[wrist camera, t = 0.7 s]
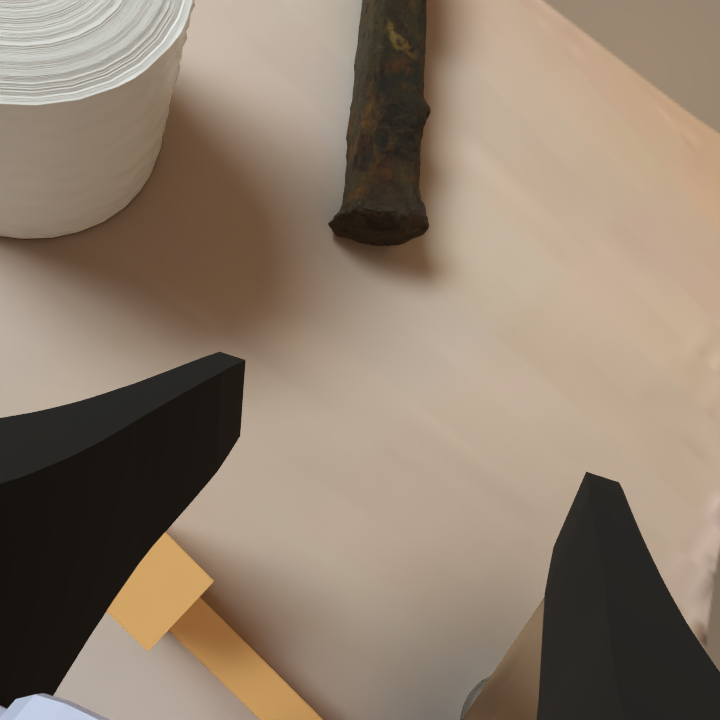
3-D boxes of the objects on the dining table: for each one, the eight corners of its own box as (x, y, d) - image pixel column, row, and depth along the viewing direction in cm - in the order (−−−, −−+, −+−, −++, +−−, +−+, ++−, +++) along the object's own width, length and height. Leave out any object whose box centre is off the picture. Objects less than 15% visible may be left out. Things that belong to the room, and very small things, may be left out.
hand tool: (397, 260, 32) (447, 225, 28) (320, 239, 31) (359, 199, 26) (428, -62, 36) (475, -134, 32) (362, -93, 35) (401, -172, 31)
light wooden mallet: (325, 802, 26) (390, 886, 21) (82, 566, 24) (83, 589, 19) (368, 744, 27) (440, 808, 22) (138, 513, 25) (153, 520, 20)
